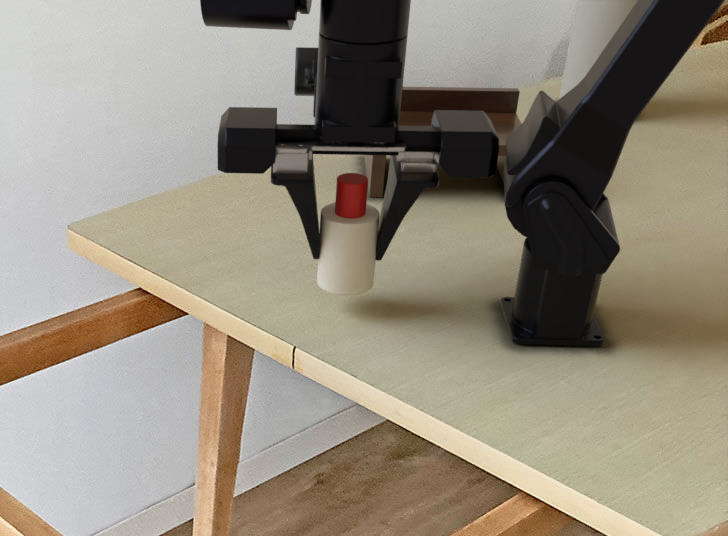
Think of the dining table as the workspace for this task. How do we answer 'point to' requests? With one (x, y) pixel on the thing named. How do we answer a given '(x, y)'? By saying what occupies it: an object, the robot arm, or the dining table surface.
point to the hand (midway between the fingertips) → (347, 257)
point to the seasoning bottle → (348, 239)
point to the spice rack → (426, 100)
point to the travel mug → (591, 36)
